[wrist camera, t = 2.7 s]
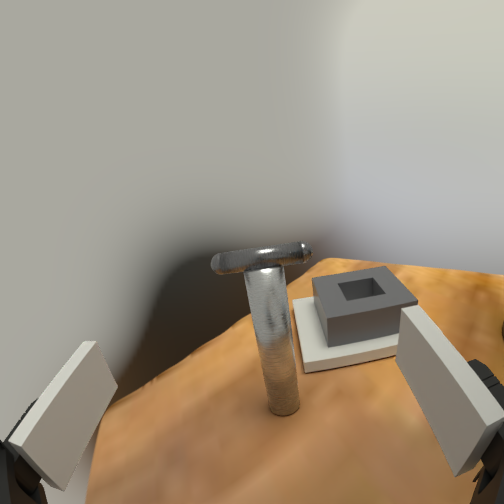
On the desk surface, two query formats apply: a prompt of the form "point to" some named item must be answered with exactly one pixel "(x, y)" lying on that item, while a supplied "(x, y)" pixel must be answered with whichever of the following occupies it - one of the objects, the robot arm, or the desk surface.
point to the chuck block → (351, 318)
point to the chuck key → (270, 314)
